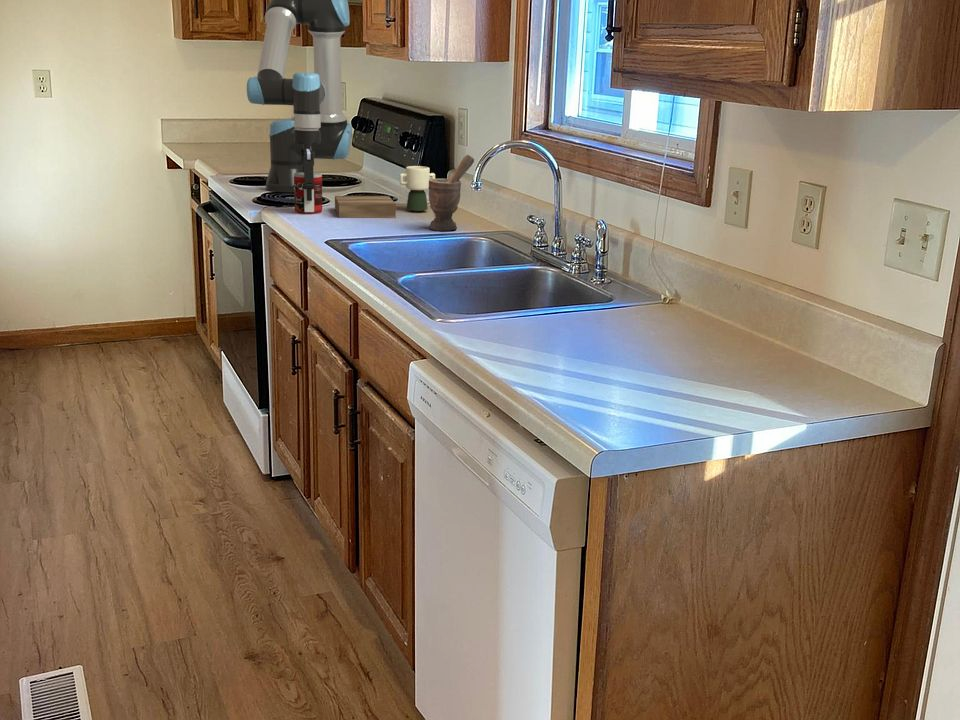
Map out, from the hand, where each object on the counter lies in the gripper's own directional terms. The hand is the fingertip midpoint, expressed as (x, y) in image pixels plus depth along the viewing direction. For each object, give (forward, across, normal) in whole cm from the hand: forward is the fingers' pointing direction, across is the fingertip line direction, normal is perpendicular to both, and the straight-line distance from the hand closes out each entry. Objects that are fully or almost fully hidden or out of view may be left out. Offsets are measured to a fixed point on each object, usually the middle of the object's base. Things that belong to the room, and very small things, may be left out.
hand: (308, 209), depth 291 cm
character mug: (+1, -1, +32) cm, 32 cm away
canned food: (+1, 0, 0) cm, 1 cm away
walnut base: (+1, +3, +16) cm, 16 cm away
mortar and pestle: (+1, +30, +36) cm, 47 cm away
